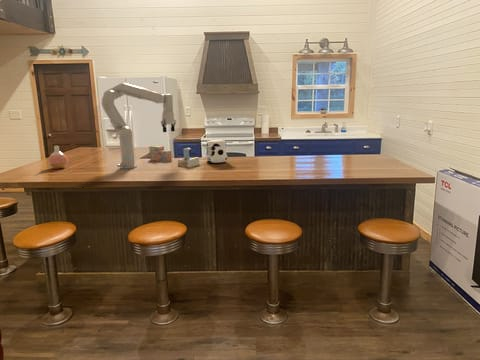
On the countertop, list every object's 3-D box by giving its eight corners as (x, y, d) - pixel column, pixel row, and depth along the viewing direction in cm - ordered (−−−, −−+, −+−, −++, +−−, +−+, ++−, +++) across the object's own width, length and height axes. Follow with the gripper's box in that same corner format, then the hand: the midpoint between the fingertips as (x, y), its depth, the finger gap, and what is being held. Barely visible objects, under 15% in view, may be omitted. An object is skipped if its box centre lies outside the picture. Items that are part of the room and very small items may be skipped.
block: (188, 166, 272) (188, 160, 270) (177, 165, 276) (177, 159, 275) (195, 164, 280) (195, 158, 279) (185, 163, 285) (185, 157, 284)
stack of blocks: (172, 161, 301) (171, 147, 298) (166, 162, 296) (165, 147, 294) (155, 159, 314) (154, 145, 311) (149, 160, 309) (148, 146, 306)
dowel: (187, 164, 275) (186, 149, 272) (183, 164, 277) (182, 148, 274) (190, 163, 279) (189, 148, 276) (186, 163, 280) (185, 148, 278)
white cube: (228, 161, 297) (228, 139, 293) (225, 164, 281) (225, 142, 277) (208, 161, 299) (207, 139, 295) (204, 164, 282) (203, 142, 278)
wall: (189, 167, 269) (189, 159, 268) (187, 167, 270) (187, 159, 269) (199, 164, 281) (199, 157, 279) (197, 164, 281) (196, 157, 280)
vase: (60, 170, 269) (57, 147, 265) (45, 169, 271) (42, 146, 267) (72, 166, 282) (69, 144, 278) (57, 166, 284) (54, 144, 280)
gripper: (171, 109, 289) (172, 130, 292) (157, 110, 274) (157, 132, 278) (178, 109, 285) (179, 131, 289) (164, 110, 270) (165, 132, 274)
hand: (168, 131), depth 283 cm, fingers open, 9 cm apart
